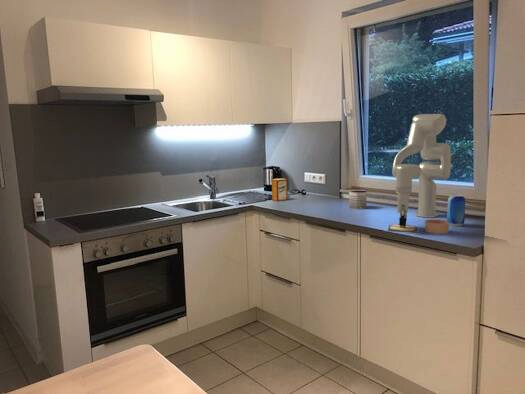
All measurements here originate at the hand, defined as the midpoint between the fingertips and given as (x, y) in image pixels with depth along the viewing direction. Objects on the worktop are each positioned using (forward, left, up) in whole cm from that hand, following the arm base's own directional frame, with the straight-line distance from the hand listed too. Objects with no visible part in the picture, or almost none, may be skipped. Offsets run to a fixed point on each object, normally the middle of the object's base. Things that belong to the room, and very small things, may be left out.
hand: (402, 223), depth 220 cm
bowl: (+1, +16, -3) cm, 16 cm away
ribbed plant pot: (-57, -30, -3) cm, 65 cm away
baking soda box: (-74, -89, -3) cm, 116 cm away
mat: (0, 0, -3) cm, 3 cm away
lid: (0, 0, -3) cm, 3 cm away
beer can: (-18, +26, -3) cm, 32 cm away
